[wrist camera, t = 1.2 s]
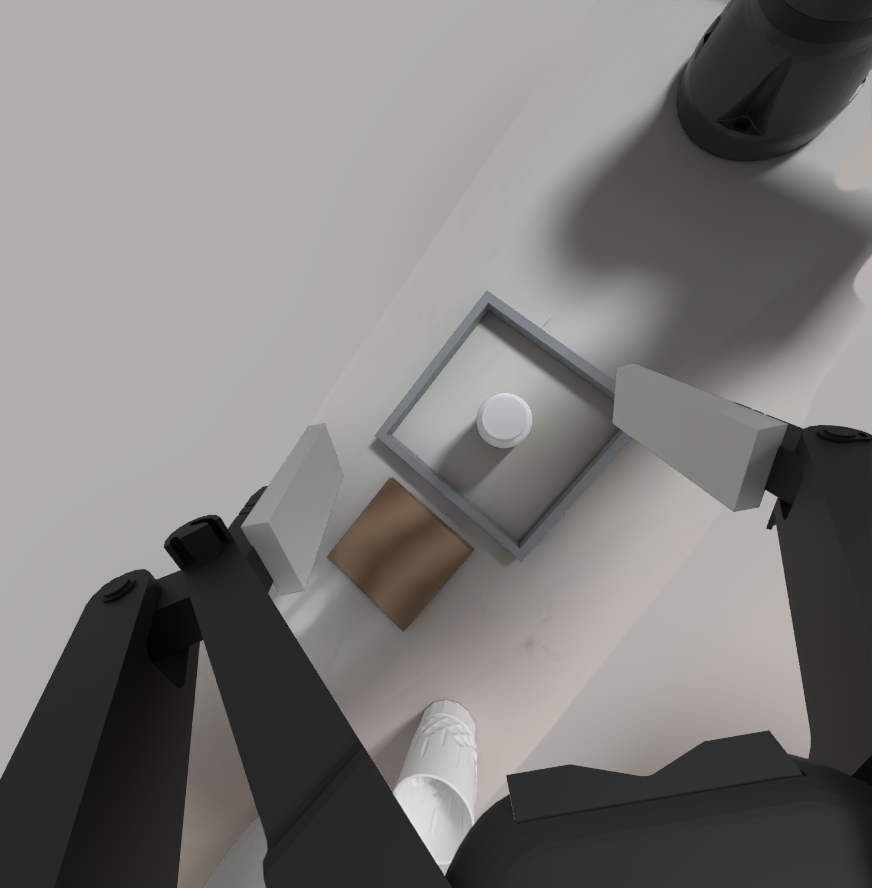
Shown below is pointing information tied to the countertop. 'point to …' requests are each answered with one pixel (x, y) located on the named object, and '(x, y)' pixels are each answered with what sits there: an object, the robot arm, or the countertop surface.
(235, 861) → the citrus juicer
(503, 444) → the supplement bottle
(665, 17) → the countertop surface
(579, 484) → the tray frame
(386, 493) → the walnut board
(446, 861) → the white cup
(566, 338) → the countertop surface
